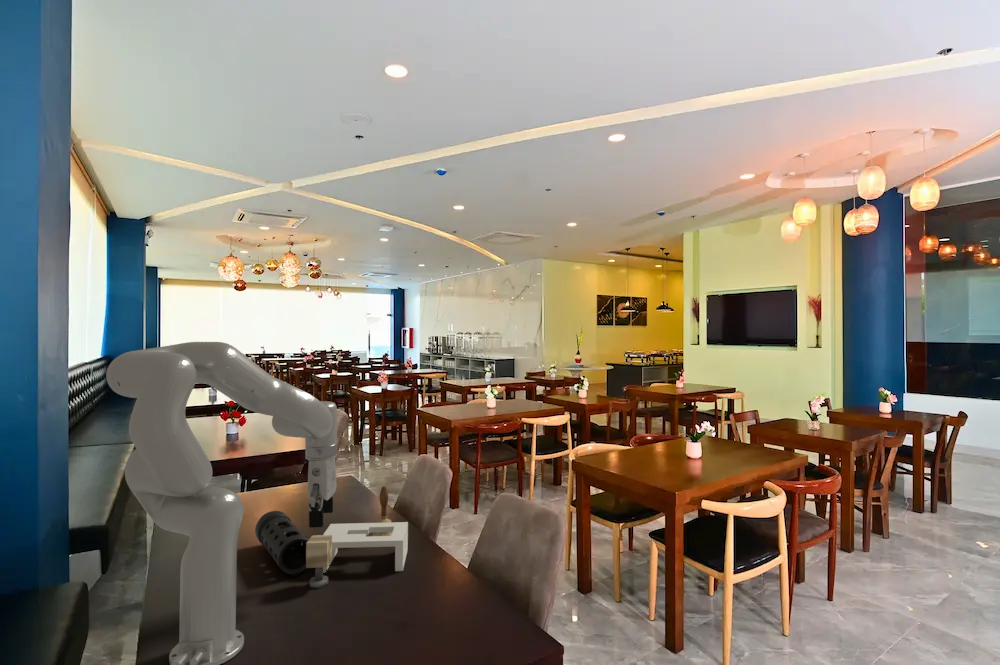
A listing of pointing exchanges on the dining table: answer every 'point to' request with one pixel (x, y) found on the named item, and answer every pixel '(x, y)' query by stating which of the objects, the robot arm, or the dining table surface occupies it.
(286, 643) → the dining table surface
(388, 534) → the hand bell
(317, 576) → the peg
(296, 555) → the muzzle brake
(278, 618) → the dining table surface
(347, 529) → the keyhole stand
